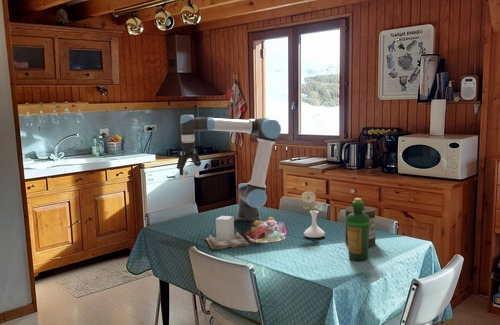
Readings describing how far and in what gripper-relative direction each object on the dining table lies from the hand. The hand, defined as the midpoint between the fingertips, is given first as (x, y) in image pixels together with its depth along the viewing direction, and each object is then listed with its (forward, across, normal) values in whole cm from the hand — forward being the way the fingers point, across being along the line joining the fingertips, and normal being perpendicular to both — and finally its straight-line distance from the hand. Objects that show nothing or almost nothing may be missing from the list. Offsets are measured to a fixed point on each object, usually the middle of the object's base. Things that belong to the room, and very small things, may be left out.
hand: (189, 178), depth 270 cm
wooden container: (+31, -13, +95) cm, 101 cm away
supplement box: (+30, +13, +31) cm, 45 cm away
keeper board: (+31, +12, +32) cm, 46 cm away
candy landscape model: (+31, -8, +45) cm, 55 cm away
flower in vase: (+31, -16, +69) cm, 77 cm away
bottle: (+31, +9, +101) cm, 106 cm away
